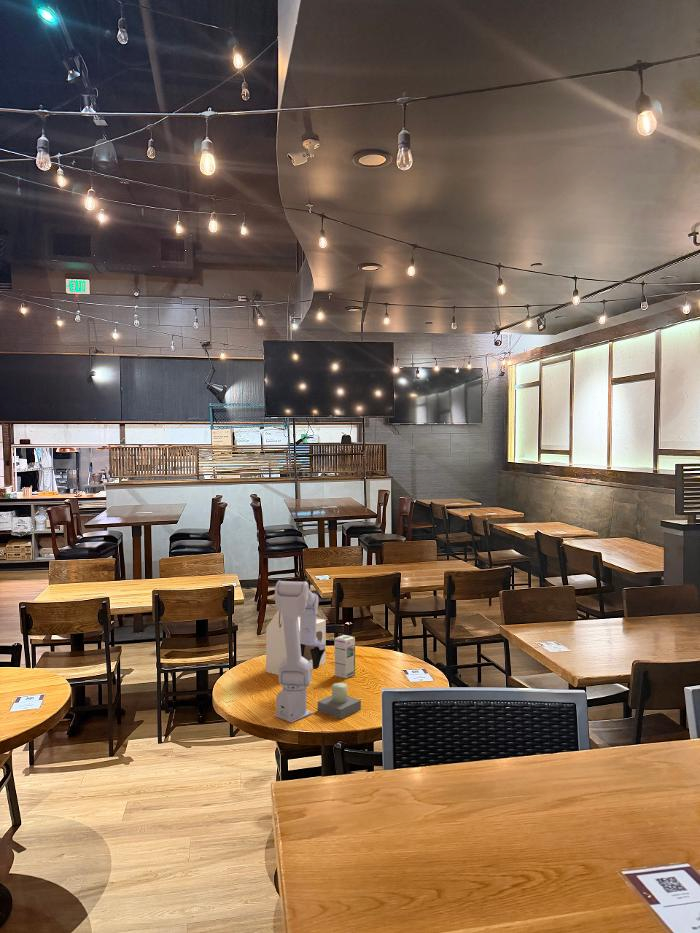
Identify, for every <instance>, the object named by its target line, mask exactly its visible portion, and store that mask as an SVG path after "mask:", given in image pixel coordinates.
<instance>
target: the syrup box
mask: <svg viewBox="0 0 700 933" xmlns="http://www.w3.org/2000/svg"><path fill="white" fill-rule="evenodd" d="M333 641H334V676H336V677H338V676H339V678H342V679H348V678H350V677H352V676H355V675H356V638H355V636H352V635H348V634H347V635H346V634H342V635H340V636H337V637H334V640H333Z"/></svg>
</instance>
